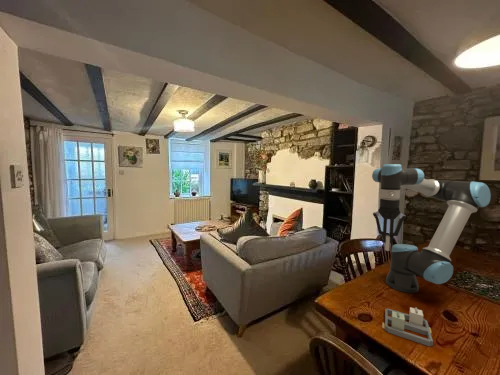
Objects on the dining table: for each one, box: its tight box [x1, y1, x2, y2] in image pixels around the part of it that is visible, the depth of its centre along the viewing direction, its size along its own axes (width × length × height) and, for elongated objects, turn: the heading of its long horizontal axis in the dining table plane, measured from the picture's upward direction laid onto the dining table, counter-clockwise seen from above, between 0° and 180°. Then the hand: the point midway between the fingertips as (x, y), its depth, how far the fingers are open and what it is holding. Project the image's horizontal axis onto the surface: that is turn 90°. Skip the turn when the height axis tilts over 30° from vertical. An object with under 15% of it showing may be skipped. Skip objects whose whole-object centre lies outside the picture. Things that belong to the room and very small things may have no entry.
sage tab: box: [390, 310, 406, 331], centre depth 87 cm, size 4×4×7 cm
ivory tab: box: [408, 306, 424, 327], centre depth 90 cm, size 4×4×7 cm
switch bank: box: [381, 308, 434, 347], centre depth 89 cm, size 14×17×3 cm
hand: (387, 249), depth 102 cm, fingers closed
